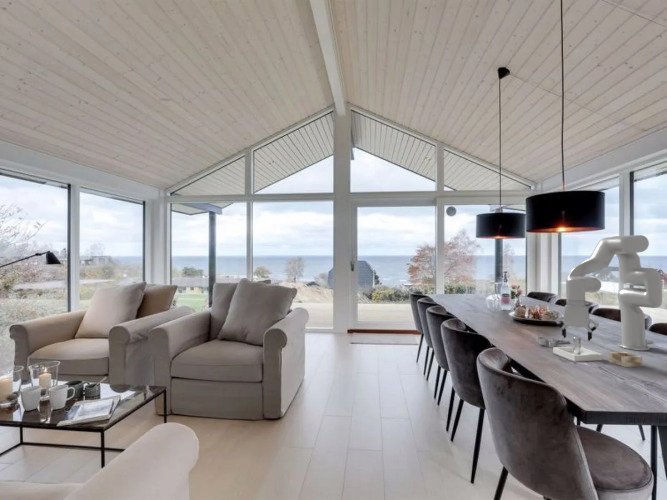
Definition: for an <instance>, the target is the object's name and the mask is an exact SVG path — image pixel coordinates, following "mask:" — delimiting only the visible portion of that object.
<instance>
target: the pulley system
mask: <svg viewBox="0 0 667 500" xmlns="http://www.w3.org/2000/svg"><path fill="white" fill-rule="evenodd" d="M550 340H551V341H549V340H548V338H547V337H539V336H538V337H536V344H537V345H542V346H546V347H548V348H550V349H553V347H563V346H562V345H564V344H565V345H566V344H570V343H571V342H570V340H566V339H564V338H563V339H562V338H555V337H554V338H553V337H551V339H550Z"/></svg>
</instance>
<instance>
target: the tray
mask: <svg viewBox="0 0 667 500" xmlns="http://www.w3.org/2000/svg"><path fill="white" fill-rule="evenodd" d="M552 352H553V353H552V354H553V355H554V356H556V357H559V358H561V359H562V360H566V361H568V362H571V363H573V364H577V362H588V361H590V362H591V361H604V353H600V352H597V351H594V350H591V349H588V348H585V347H583V346H581V355H574V349H573V346H562V347H557V346H556V347H553V348H552Z"/></svg>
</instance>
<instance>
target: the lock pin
mask: <svg viewBox="0 0 667 500" xmlns="http://www.w3.org/2000/svg"><path fill="white" fill-rule="evenodd" d="M572 337H573V338H572V341H573V344H572V345H573V346H572V347H573V349H574V355H581V347H582V337H580V336H572Z"/></svg>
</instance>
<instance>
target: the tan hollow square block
mask: <svg viewBox="0 0 667 500" xmlns="http://www.w3.org/2000/svg"><path fill="white" fill-rule="evenodd" d="M608 361H609V362H610V363H613V364H616V365H618V366H622V367H624V368H628V367H629V368H633V367H635V368H637V367H643V356H640V355H637V354H635V353H634V354H633V353H630V352H627V351H612V352H610V351H609V352H608Z"/></svg>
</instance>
